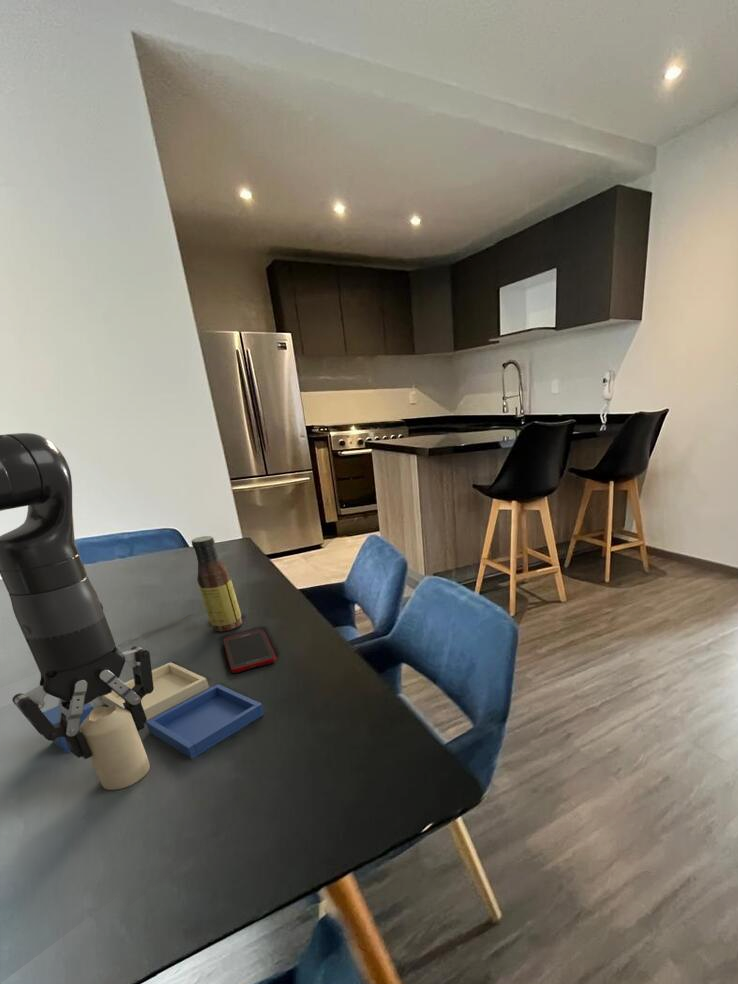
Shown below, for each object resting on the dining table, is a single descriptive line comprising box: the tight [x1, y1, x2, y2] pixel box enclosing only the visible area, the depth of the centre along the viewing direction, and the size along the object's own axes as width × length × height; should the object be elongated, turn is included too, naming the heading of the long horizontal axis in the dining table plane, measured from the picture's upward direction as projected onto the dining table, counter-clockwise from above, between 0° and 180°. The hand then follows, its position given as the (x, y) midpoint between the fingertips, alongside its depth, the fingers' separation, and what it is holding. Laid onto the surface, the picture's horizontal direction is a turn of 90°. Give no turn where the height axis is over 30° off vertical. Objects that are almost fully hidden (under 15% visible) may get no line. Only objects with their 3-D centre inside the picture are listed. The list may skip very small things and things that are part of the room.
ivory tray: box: [100, 662, 210, 721], centre depth 81 cm, size 12×12×2 cm
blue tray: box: [145, 683, 265, 760], centre depth 73 cm, size 12×12×2 cm
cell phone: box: [223, 629, 277, 674], centre depth 94 cm, size 8×15×1 cm, turn 28°
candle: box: [79, 705, 151, 791], centre depth 62 cm, size 6×6×10 cm
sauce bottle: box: [191, 535, 243, 632], centre depth 102 cm, size 6×6×20 cm
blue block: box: [42, 702, 95, 754], centre depth 71 cm, size 5×5×5 cm
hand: (112, 740), depth 62 cm, fingers closed on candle, 5 cm apart
